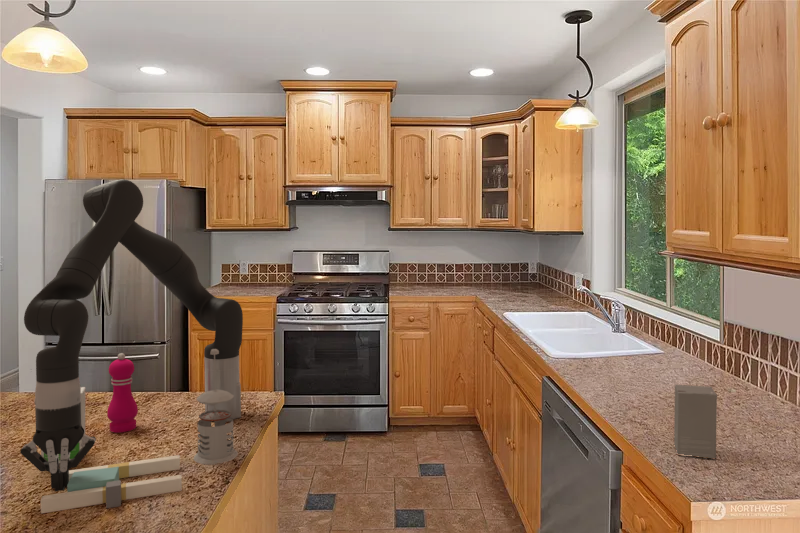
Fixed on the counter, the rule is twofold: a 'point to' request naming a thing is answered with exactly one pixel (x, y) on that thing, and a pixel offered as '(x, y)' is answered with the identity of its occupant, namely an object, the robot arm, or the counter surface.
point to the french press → (215, 428)
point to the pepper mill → (122, 396)
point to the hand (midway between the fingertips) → (60, 489)
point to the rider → (92, 478)
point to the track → (119, 485)
